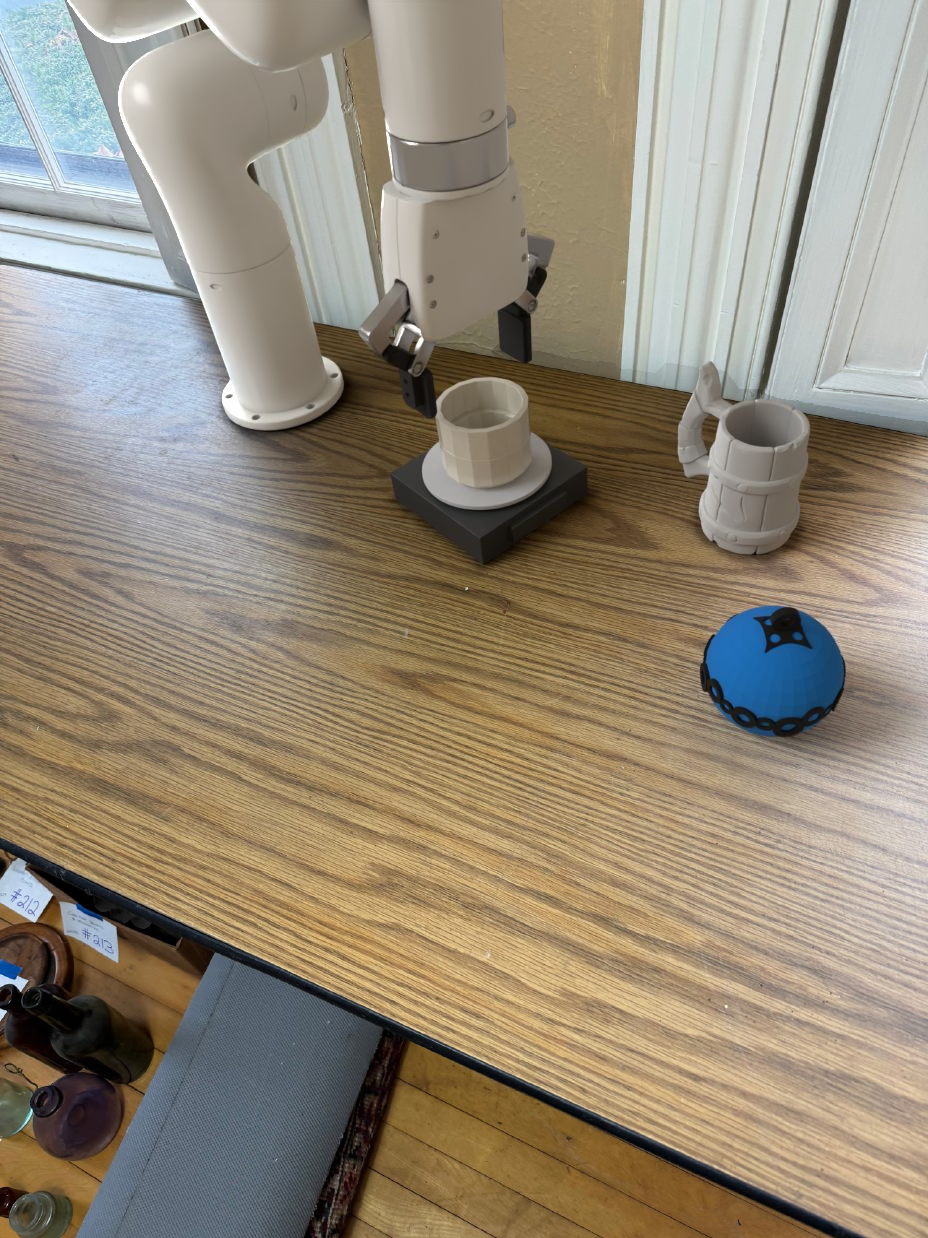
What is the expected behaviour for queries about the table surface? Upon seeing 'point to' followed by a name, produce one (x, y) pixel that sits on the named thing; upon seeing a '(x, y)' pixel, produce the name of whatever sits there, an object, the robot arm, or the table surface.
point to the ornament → (773, 671)
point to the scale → (490, 499)
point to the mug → (745, 466)
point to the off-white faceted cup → (484, 431)
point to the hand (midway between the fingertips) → (470, 382)
